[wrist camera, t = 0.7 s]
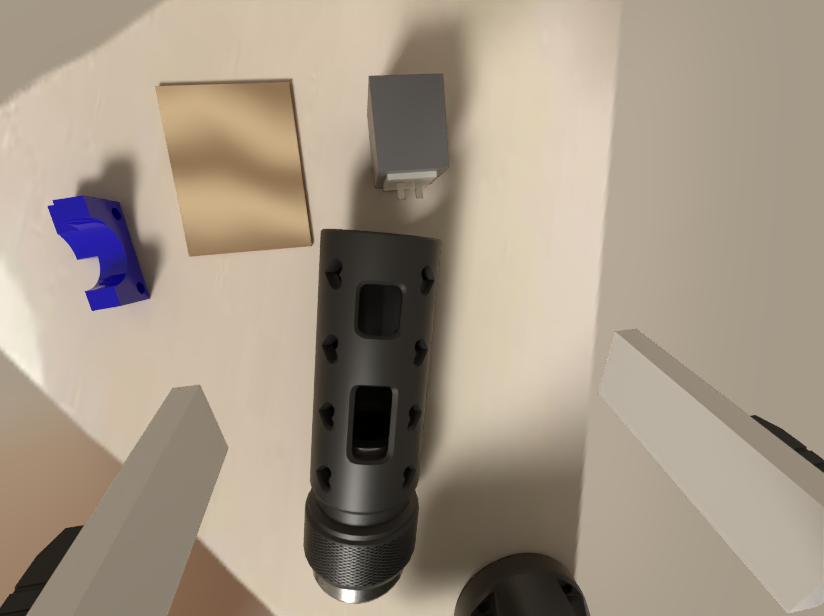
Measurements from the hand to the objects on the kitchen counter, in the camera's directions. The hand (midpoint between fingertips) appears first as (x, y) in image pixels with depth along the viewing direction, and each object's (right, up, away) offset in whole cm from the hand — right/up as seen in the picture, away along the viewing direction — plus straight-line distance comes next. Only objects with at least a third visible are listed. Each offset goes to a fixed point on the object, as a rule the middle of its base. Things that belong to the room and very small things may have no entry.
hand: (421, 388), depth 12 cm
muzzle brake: (-5, -5, +23) cm, 24 cm away
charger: (-1, +16, +19) cm, 25 cm away
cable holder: (-25, +7, +18) cm, 32 cm away
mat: (-15, +14, +18) cm, 27 cm away
